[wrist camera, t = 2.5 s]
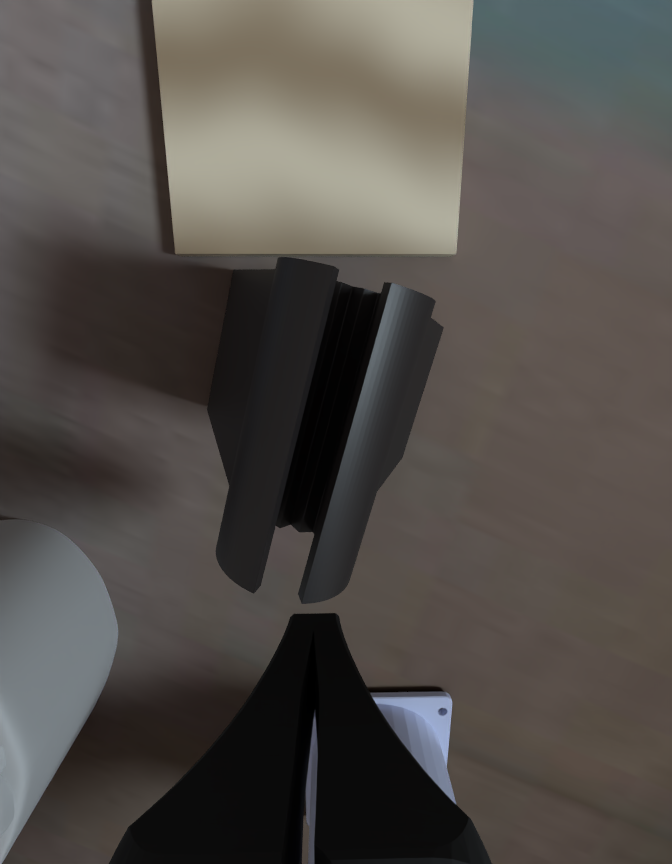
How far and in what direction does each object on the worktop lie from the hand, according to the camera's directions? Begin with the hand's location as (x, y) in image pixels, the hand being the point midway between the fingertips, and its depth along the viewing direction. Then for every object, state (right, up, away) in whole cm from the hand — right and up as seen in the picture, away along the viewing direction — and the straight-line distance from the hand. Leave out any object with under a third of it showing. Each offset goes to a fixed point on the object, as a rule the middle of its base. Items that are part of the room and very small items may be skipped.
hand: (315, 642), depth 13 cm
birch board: (0, +19, +4) cm, 19 cm away
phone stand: (0, +9, +7) cm, 11 cm away
